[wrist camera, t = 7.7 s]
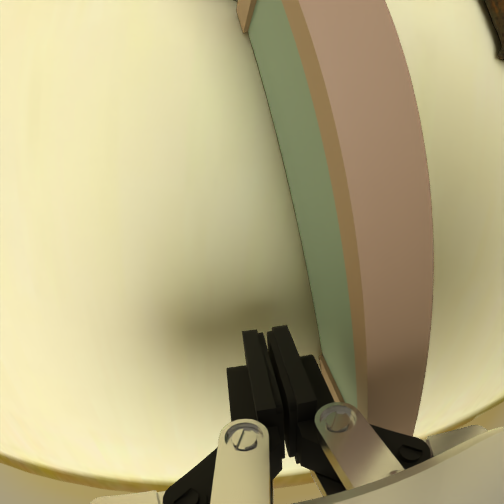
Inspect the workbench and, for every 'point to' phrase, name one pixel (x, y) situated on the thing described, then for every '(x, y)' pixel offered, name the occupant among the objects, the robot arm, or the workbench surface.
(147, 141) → the workbench surface
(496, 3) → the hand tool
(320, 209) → the gate
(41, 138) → the workbench surface
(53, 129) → the workbench surface
